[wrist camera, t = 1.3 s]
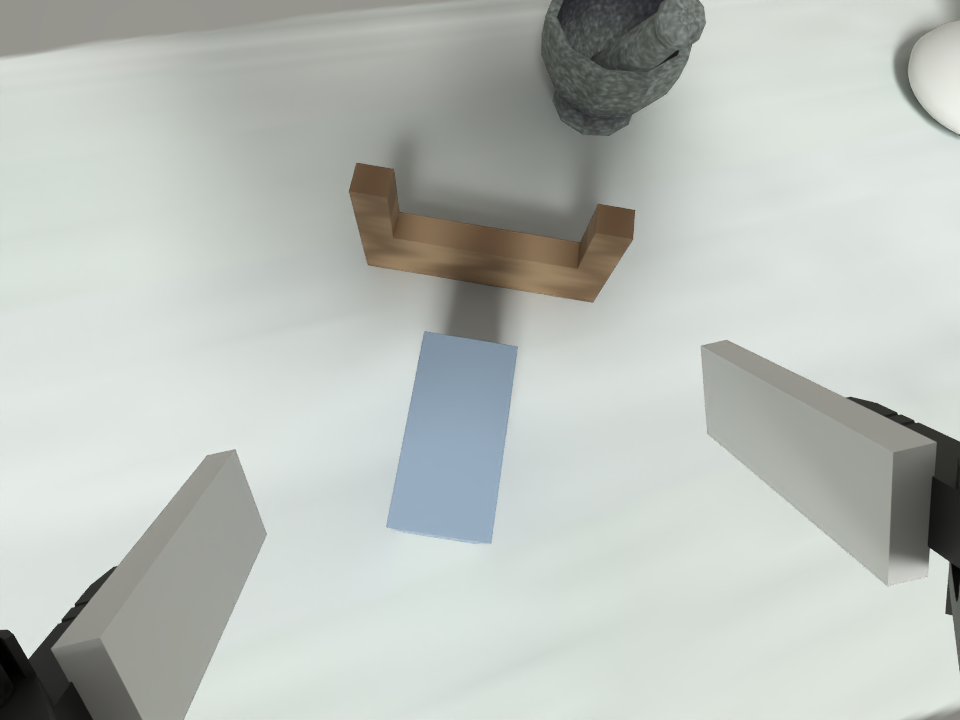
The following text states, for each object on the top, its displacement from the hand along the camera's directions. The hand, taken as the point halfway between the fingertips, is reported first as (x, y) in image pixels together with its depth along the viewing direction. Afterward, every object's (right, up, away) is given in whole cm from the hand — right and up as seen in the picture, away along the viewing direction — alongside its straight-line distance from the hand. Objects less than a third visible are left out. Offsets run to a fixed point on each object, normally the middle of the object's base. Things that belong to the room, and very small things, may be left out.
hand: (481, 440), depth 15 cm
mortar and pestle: (+9, +21, +26) cm, 35 cm away
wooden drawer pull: (0, +8, +21) cm, 23 cm away
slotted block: (-2, -4, +17) cm, 18 cm away
